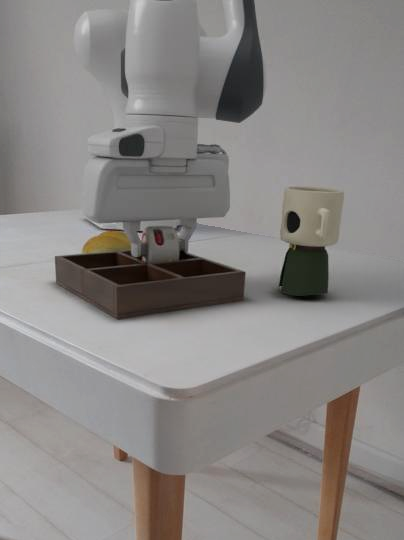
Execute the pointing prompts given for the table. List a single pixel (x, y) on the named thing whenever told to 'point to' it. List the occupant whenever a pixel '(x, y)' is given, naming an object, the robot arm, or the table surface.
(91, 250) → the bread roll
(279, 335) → the table surface
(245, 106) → the robot arm
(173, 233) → the roller toy
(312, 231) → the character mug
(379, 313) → the table surface
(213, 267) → the grid
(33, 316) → the table surface
